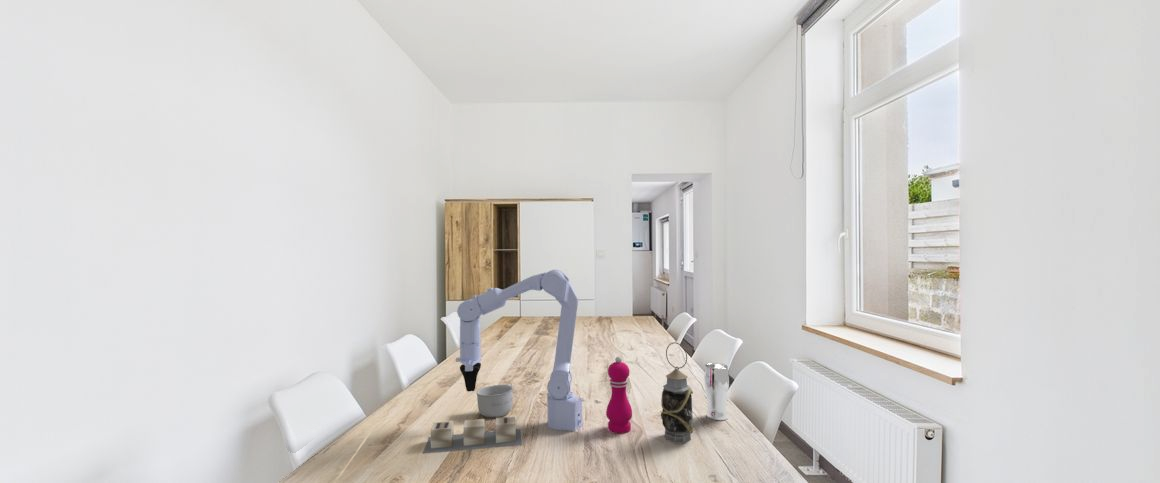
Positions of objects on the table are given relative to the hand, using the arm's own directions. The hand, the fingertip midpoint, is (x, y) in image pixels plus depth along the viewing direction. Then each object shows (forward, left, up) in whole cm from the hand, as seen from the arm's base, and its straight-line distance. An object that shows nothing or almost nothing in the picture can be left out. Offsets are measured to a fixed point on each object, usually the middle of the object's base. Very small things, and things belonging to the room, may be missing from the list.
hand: (470, 390), depth 128 cm
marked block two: (0, +13, -10) cm, 16 cm away
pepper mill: (-40, -12, -11) cm, 43 cm away
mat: (-7, +9, -10) cm, 15 cm away
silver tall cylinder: (-65, -30, -11) cm, 72 cm away
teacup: (-2, -12, -11) cm, 16 cm away
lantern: (-56, -11, -11) cm, 58 cm away
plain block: (-7, +9, -10) cm, 15 cm away
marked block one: (-14, +5, -10) cm, 18 cm away
